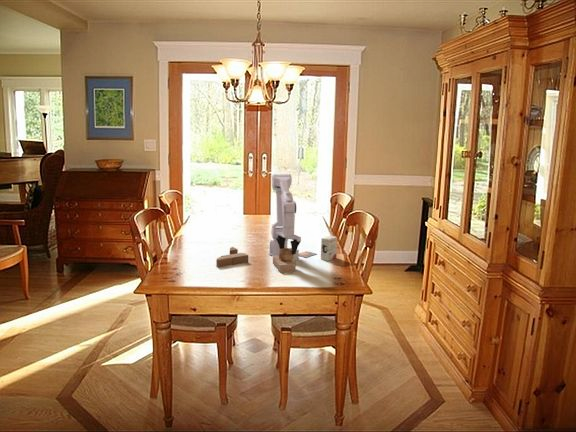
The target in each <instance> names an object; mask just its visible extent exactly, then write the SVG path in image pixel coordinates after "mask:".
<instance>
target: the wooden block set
mask: <svg viewBox="0 0 576 432" xmlns="http://www.w3.org/2000/svg"><path fill="white" fill-rule="evenodd" d="M238 251H239V249H238V248H236V247H234V246H232V247H229V254H226V255H220V256H218V257H217V258H216V259H215V261H216V267H218V268H224V267H228V266H237V265H244V264H248V263H249V254H247V253H245V252H238Z"/></svg>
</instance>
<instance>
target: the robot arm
mask: <svg viewBox="0 0 576 432" xmlns="http://www.w3.org/2000/svg"><path fill="white" fill-rule="evenodd" d="M292 182H293V179H292V174H290V173H287V174H286V173H285V174H284V173H280V174H279V173H277V174H276V173H273V174H272V176H271V187H272V190H273V191H275V195H276V196H275V197H276V199H275V200H276V201H275V202H276V222H274V223H273V224H272V225H271V233H270V234H271V239H270V240H269V253H268V256H272V257H273V256H276V255H279V249H282V248H288V243H289V242H290V246H291V247H290V248H292V255H294V254H296V250H297V249H298V247H299V246H300V243H301V241H302V237H301V236H298V235H297V234H295V225H296V224H295V223H296V222H295V221H296V219H295V218H296V214H297V202H296V201H295V200H294V197H293V194H292V192H291V191H290V188H291V185H292ZM289 240H290V241H289ZM288 241H289V242H288Z"/></svg>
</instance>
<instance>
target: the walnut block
mask: <svg viewBox="0 0 576 432" xmlns="http://www.w3.org/2000/svg"><path fill="white" fill-rule="evenodd" d="M290 248H291V247H290ZM290 248H289V247H287V248H282V249H279V259H281V260H284V261H289V260H292V259H293V255H292V249H290Z"/></svg>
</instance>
